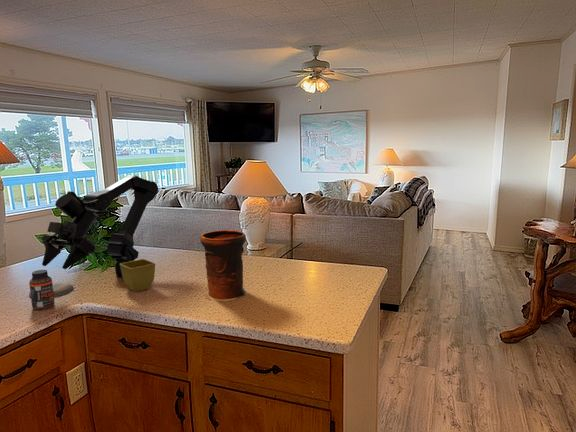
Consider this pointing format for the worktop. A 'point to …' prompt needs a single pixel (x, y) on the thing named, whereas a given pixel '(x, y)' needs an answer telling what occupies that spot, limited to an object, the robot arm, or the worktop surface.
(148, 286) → the flower pot
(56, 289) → the coaster
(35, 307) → the supplement bottle
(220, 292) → the vessel
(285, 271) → the worktop surface
